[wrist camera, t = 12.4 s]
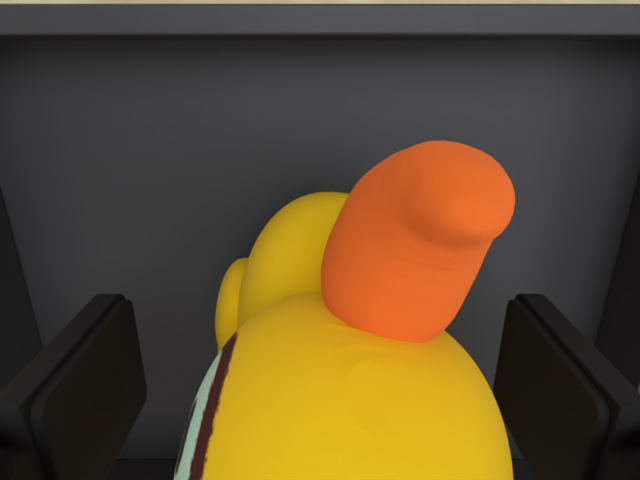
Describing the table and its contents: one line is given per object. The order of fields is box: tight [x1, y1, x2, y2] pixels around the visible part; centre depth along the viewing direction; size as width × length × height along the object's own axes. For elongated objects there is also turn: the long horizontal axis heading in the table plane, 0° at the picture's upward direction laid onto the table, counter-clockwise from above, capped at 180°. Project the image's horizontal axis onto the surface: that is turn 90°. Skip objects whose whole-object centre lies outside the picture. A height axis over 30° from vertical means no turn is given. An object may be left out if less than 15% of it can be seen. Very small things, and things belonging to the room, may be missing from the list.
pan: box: [0, 4, 640, 480], centre depth 13 cm, size 15×19×3 cm
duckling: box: [174, 141, 515, 480], centre depth 9 cm, size 11×5×10 cm, turn 166°
